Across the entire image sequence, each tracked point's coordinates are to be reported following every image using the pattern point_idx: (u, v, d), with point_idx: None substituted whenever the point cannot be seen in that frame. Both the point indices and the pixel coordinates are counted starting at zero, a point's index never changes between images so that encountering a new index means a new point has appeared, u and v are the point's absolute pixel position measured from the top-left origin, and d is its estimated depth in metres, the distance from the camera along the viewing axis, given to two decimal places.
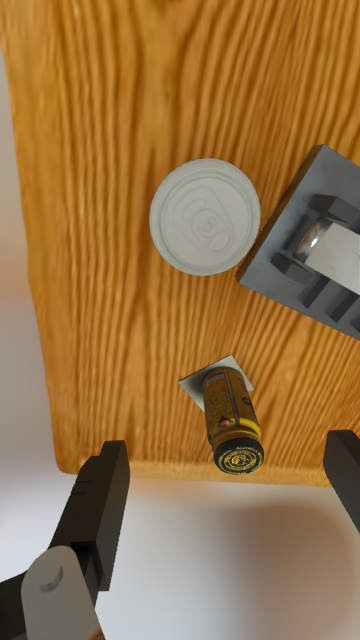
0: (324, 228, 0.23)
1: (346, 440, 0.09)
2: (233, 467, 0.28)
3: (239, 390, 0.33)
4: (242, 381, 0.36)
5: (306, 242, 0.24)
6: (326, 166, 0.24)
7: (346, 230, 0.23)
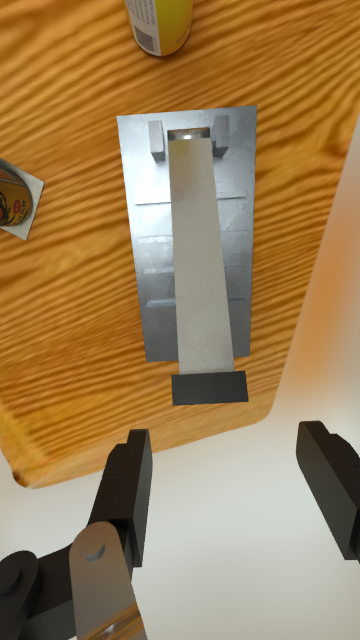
0: (202, 133, 0.25)
1: (314, 430, 0.10)
2: None
3: (9, 192, 0.27)
4: (23, 207, 0.30)
5: (184, 129, 0.25)
6: (244, 121, 0.27)
7: (210, 148, 0.24)
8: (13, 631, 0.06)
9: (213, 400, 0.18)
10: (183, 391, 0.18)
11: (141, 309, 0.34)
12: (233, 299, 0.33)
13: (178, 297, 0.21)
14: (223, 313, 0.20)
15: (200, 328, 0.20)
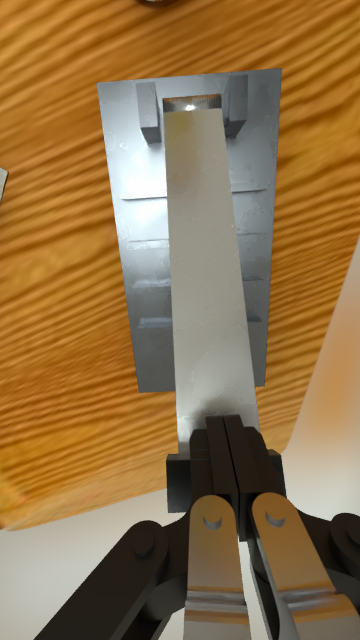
0: (210, 102, 0.18)
1: (230, 423, 0.11)
2: None
3: None
4: None
5: (185, 96, 0.18)
6: (264, 90, 0.21)
7: (221, 122, 0.18)
8: (140, 597, 0.06)
9: None
10: (184, 488, 0.11)
11: (132, 330, 0.28)
12: (247, 319, 0.26)
13: (177, 332, 0.14)
14: (243, 356, 0.14)
15: (209, 379, 0.14)
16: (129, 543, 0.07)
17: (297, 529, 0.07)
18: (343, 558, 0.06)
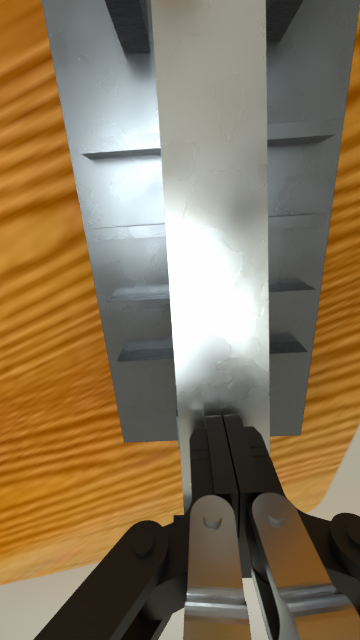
0: None
1: (230, 423, 0.11)
2: None
3: None
4: None
5: None
6: None
7: (262, 7, 0.09)
8: (140, 598, 0.06)
9: None
10: None
11: (111, 360, 0.19)
12: (283, 347, 0.17)
13: (181, 394, 0.12)
14: (260, 423, 0.12)
15: None
16: (129, 543, 0.07)
17: (297, 529, 0.07)
18: (343, 558, 0.06)
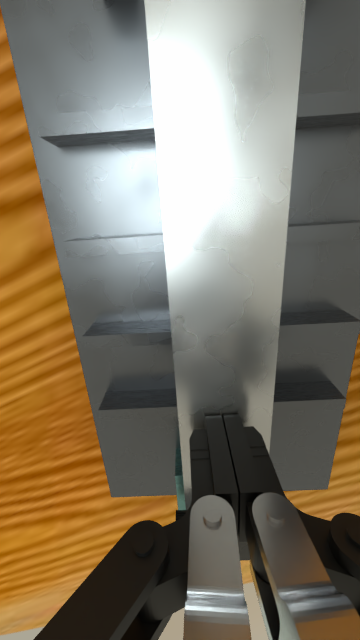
0: None
1: (230, 423, 0.11)
2: None
3: None
4: None
5: None
6: None
7: None
8: (141, 598, 0.06)
9: None
10: None
11: (93, 403, 0.15)
12: (312, 391, 0.14)
13: (183, 416, 0.11)
14: None
15: None
16: (129, 543, 0.07)
17: (297, 529, 0.07)
18: (343, 558, 0.06)
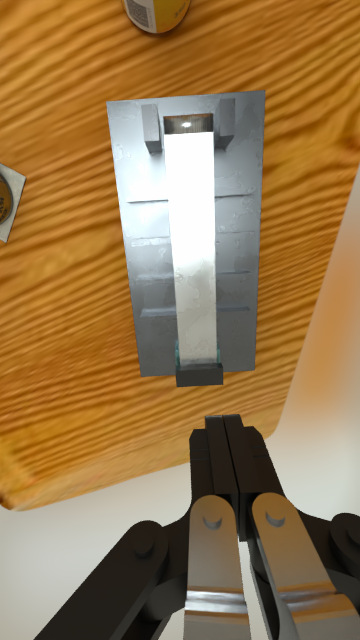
0: (204, 127, 0.22)
1: (230, 423, 0.11)
2: None
3: None
4: (1, 204, 0.27)
5: (183, 119, 0.21)
6: (250, 109, 0.24)
7: (211, 149, 0.22)
8: (140, 597, 0.06)
9: (201, 384, 0.29)
10: (183, 379, 0.29)
11: (135, 319, 0.31)
12: (238, 309, 0.29)
13: (178, 312, 0.27)
14: (212, 324, 0.28)
15: (195, 335, 0.28)
16: (129, 543, 0.07)
17: (297, 529, 0.07)
18: (343, 558, 0.06)
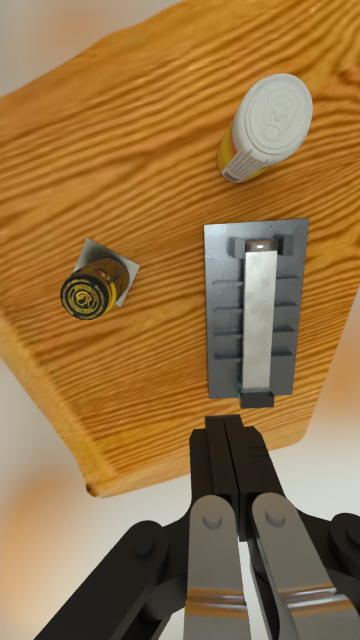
0: (272, 248, 0.34)
1: (230, 423, 0.11)
2: (71, 299, 0.30)
3: (123, 281, 0.36)
4: (126, 286, 0.39)
5: (259, 244, 0.34)
6: (298, 229, 0.36)
7: (275, 260, 0.35)
8: (141, 597, 0.06)
9: (258, 406, 0.41)
10: (246, 403, 0.41)
11: (209, 359, 0.43)
12: (283, 353, 0.42)
13: (245, 358, 0.40)
14: (267, 366, 0.40)
15: (255, 373, 0.41)
16: (129, 543, 0.07)
17: (297, 529, 0.07)
18: (343, 558, 0.06)
